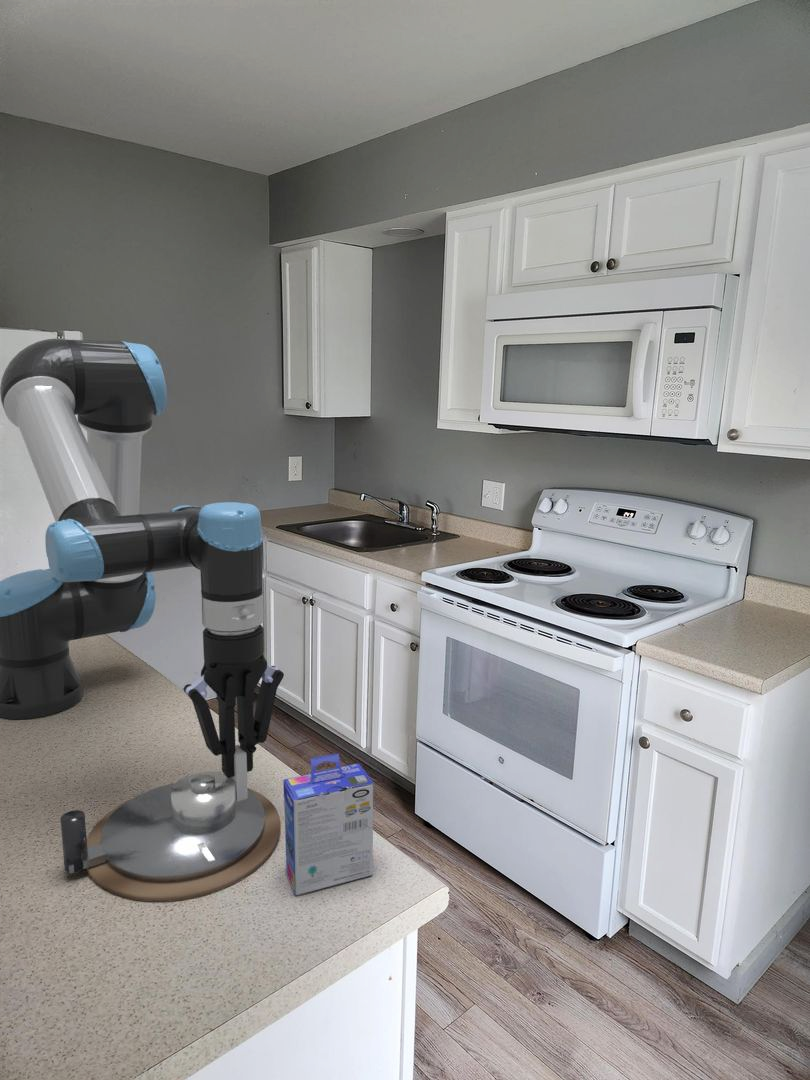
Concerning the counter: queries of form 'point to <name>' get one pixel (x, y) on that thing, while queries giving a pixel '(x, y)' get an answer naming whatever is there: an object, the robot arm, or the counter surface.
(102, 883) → the base
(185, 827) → the cover
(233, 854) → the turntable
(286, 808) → the ink cartridge box
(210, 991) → the counter surface
